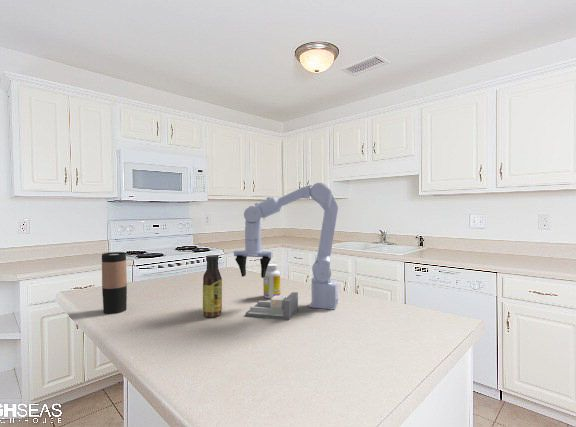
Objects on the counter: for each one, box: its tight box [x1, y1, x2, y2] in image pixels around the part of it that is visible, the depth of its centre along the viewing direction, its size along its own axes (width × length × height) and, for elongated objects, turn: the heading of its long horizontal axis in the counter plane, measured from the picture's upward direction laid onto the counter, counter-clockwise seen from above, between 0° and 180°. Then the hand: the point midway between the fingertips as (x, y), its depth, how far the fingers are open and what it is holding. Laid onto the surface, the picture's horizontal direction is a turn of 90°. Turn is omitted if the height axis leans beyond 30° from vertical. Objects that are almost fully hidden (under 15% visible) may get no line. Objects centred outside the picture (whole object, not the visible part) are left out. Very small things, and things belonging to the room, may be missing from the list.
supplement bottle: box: [262, 263, 281, 299], centre depth 135 cm, size 7×7×13 cm
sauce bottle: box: [202, 254, 223, 318], centre depth 114 cm, size 6×6×20 cm
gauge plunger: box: [269, 295, 287, 309], centre depth 114 cm, size 4×8×4 cm, turn 164°
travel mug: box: [101, 251, 128, 315], centre depth 119 cm, size 8×8×20 cm
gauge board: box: [245, 291, 299, 321], centre depth 116 cm, size 15×11×6 cm
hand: (253, 276), depth 125 cm, fingers open, 7 cm apart
